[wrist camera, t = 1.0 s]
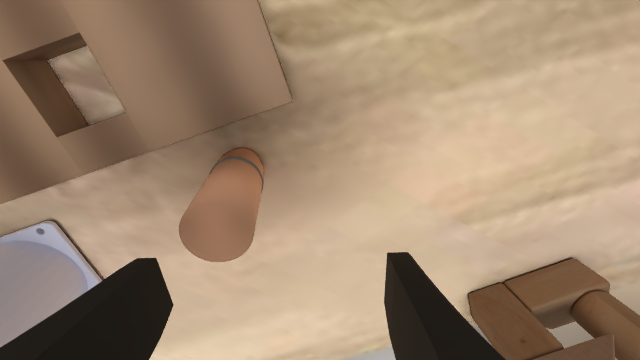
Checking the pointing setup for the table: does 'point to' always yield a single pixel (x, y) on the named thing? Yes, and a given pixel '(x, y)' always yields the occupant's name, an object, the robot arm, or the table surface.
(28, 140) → the board
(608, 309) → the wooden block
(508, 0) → the table surface
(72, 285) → the robot arm
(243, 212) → the peg
